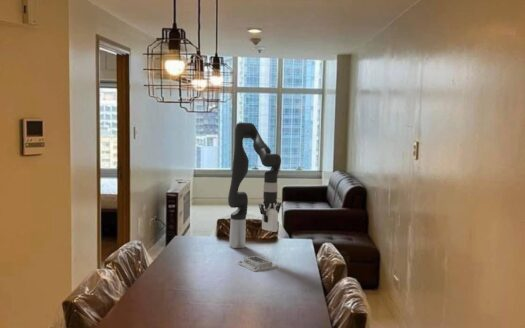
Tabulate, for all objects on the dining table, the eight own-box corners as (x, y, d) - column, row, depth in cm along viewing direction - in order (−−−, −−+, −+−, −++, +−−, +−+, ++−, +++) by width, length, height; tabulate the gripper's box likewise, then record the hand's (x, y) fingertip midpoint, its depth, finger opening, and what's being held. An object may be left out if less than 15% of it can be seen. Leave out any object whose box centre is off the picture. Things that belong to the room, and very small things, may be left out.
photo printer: (260, 229, 273) (261, 206, 272) (266, 228, 276) (267, 206, 275) (272, 232, 265) (273, 209, 264) (278, 231, 268) (279, 209, 267)
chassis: (237, 263, 264) (237, 258, 264) (260, 259, 272) (260, 254, 272) (254, 271, 251) (254, 265, 250) (278, 267, 259) (278, 261, 259)
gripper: (276, 189, 276) (275, 219, 277) (255, 190, 268) (254, 221, 269) (285, 190, 270) (284, 221, 271) (263, 192, 262) (263, 224, 263)
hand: (269, 221), depth 270 cm, fingers closed on photo printer, 4 cm apart
